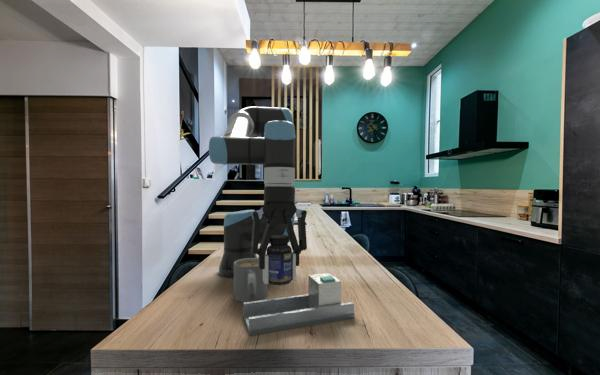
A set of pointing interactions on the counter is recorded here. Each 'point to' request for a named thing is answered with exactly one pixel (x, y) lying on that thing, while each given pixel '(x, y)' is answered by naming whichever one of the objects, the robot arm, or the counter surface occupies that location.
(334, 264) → the counter surface
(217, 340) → the counter surface
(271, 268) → the pill bottle
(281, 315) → the rail
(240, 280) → the coffee mug
